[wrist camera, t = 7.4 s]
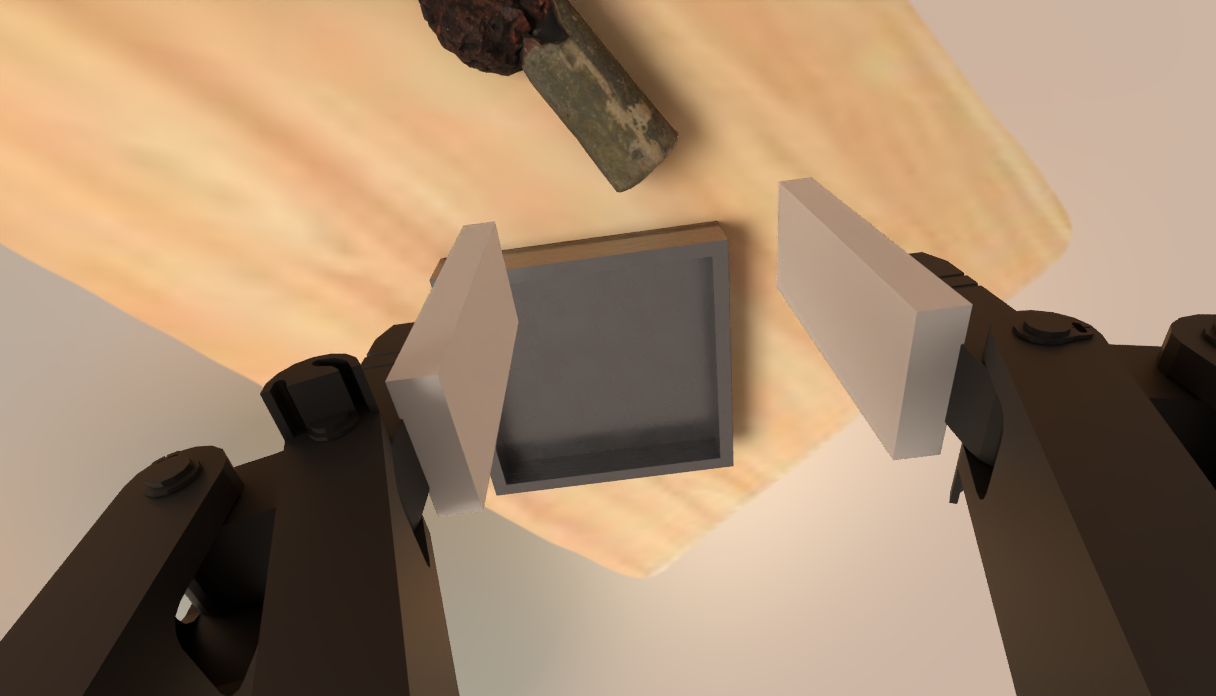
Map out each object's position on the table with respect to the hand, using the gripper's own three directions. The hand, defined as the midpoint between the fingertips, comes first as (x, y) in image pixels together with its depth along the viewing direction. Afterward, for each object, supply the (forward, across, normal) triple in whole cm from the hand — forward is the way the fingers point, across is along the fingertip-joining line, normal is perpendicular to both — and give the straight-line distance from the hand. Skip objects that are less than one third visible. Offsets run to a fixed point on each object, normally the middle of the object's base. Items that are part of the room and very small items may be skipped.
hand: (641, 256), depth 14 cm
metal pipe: (+28, 0, -1) cm, 28 cm away
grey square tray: (+25, -3, -18) cm, 31 cm away
